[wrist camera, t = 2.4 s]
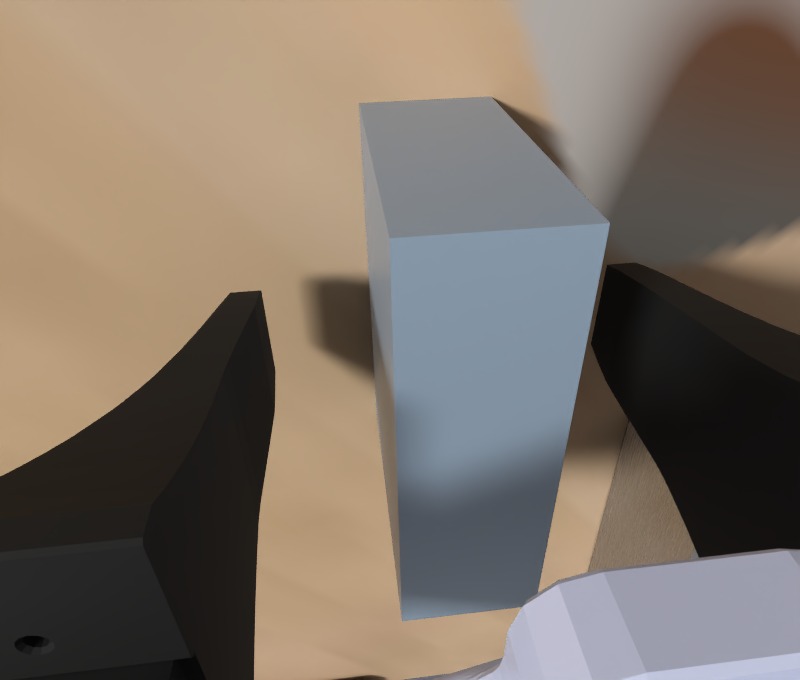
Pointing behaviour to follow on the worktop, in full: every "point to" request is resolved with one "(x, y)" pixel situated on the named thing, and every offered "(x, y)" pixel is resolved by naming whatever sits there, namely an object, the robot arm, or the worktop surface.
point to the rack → (639, 514)
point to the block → (472, 343)
